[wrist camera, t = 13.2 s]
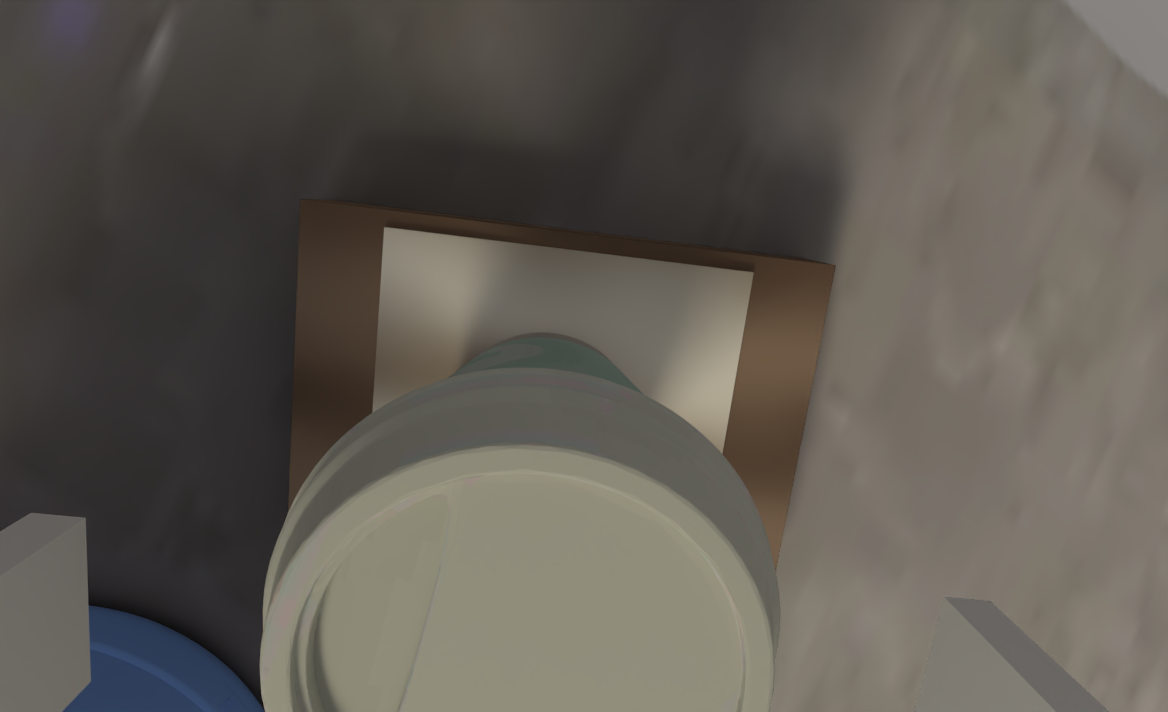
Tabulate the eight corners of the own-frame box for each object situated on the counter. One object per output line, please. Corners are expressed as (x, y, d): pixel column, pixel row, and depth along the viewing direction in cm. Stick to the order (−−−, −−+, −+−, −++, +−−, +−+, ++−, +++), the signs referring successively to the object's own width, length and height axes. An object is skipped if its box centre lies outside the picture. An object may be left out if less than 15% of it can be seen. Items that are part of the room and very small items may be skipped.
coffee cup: (554, 226, 20) (547, 268, 9) (734, 435, 22) (928, 704, 10) (344, 411, 22) (87, 669, 10) (530, 598, 23) (499, 1010, 11)
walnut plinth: (331, 200, 23) (297, 199, 20) (804, 258, 24) (838, 266, 21) (315, 534, 26) (283, 577, 23) (745, 576, 26) (768, 623, 24)
